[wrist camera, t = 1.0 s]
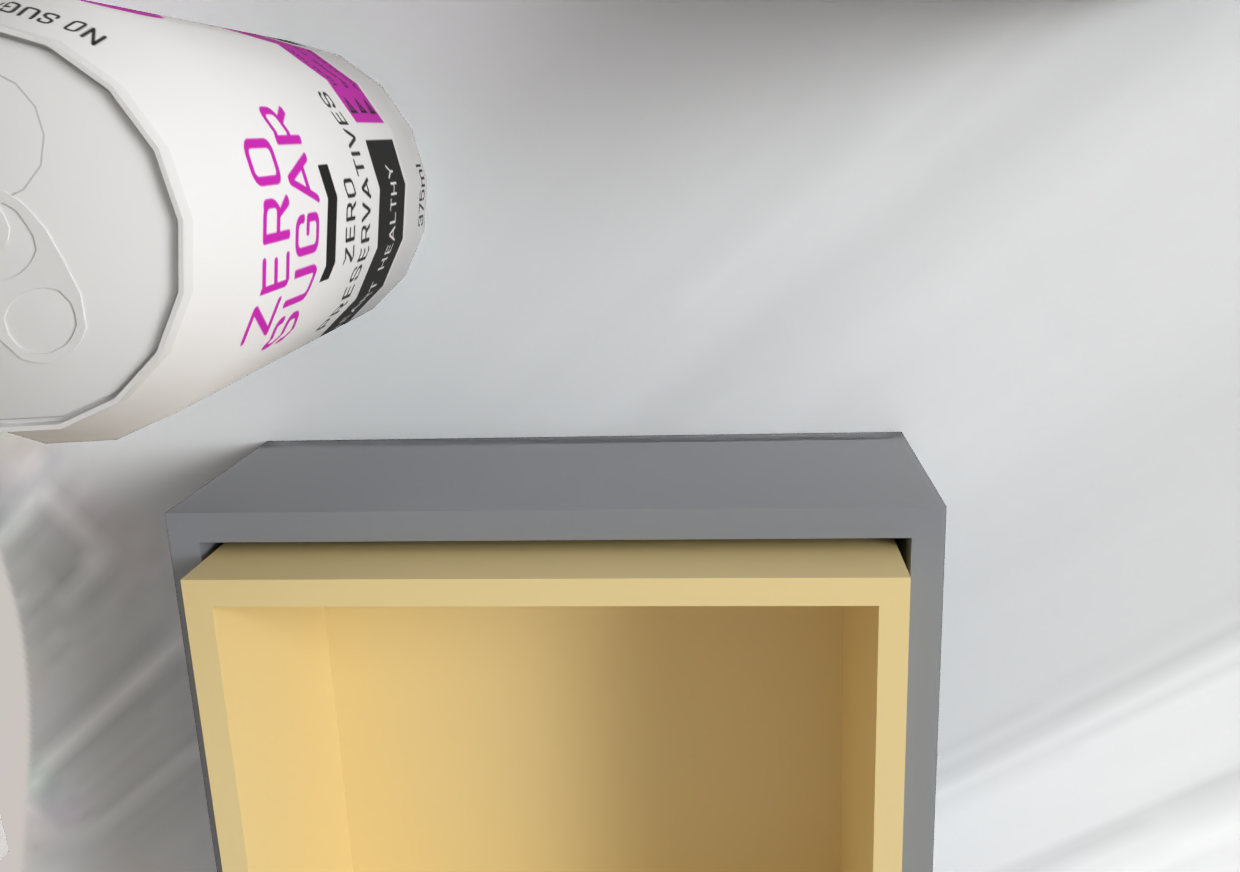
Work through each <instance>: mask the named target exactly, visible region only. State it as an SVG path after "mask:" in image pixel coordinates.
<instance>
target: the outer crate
mask: <svg viewBox="0 0 1240 872" xmlns="http://www.w3.org/2000/svg"><path fill="white" fill-rule="evenodd" d="M165 518H166V525H167V531H168V538H169V545H170V552H171V559H172V566H173V572H174V579H175V586H176V593H177V600H178V607H179V613H180V620H181V627H182V634H183V641H184V648H185V654H186V661H187V668H188V675H189V682H190V689H191V695H192V702H193V709H194V716H195V723H196V730H197V736H198V743H199V750H200V757H201V764H202V771H203V777H204V784H205V791H206V798H207V805H208V812H209V818H210V825H211V832H212V839H213V846H214V853H215V859H216V866H217V872H223V871H222V864H221V857H220V850H219V843H218V836H217V829H216V823H215V816H214V809H213V802H212V795H211V788H210V781H209V774H208V767H207V760H206V754H205V747H204V740H203V733H202V726H201V719H200V712H199V705H198V698H197V691H196V685H195V678H194V671H193V664H192V657H191V650H190V643H189V636H188V629H187V622H186V616H185V609H184V602H183V595H182V588H181V581H180V580H181V579H182V578H183V577H185V576H186V575H187V574H188V573H189V572H190V571H192V570H193V569H194V568H195V567H196V566H198V565H199V564H200V563H201V562H202V561H203V560H205V559H206V558H207V557H208V556H209V555H211V554H212V553H213V552H214V551H215V550H217V549H218V548H219V547H220V546H221V545H222V544H224V543H225V542H368V541H524V540H680V539H836V538H894V540H895V542H896V544H897V547H898V549H899V551H900V554H901V556H902V558H903V561H904V563H905V565H906V568H907V570H908V572H909V575H910V577H911V587H910V620H909V653H908V686H907V719H906V752H905V785H904V818H903V851H902V872H933V846H934V820H935V793H936V767H937V741H938V715H939V689H940V663H941V636H942V610H943V584H944V558H945V532H946V505H945V503H944V502H943V500H942V498H941V497H940V495H939V493H938V492H937V490H936V488H935V487H934V485H933V483H932V482H931V480H930V478H929V477H928V475H927V473H926V472H925V470H924V468H923V467H922V465H921V463H920V462H919V460H918V458H917V457H916V455H915V453H914V452H913V450H912V448H911V447H910V445H909V443H908V442H907V440H906V438H905V437H904V435H903V434H902V432H873V433H804V434H735V435H666V436H596V437H527V438H458V439H389V440H319V441H268V442H266V443H265V444H263V445H262V446H260V447H259V448H258V449H256V450H255V451H253V452H252V453H250V454H249V455H248V456H246V457H245V458H243V459H242V460H240V461H239V462H238V463H236V464H235V465H233V466H232V467H230V468H229V469H228V470H226V471H225V472H223V473H222V474H220V475H219V476H218V477H216V478H215V479H213V480H212V481H210V482H209V483H208V484H206V485H205V486H203V487H202V488H200V489H199V490H198V491H196V492H195V493H193V494H192V495H190V496H189V497H188V498H186V499H185V500H183V501H182V502H180V503H179V504H178V505H176V506H175V507H173V508H172V509H170V510H169V511H168V512H166V513H165Z"/></svg>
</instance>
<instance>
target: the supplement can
mask: <svg viewBox="0 0 1240 872" xmlns="http://www.w3.org/2000/svg"><path fill="white" fill-rule="evenodd" d="M426 190H427V179H426V175H425V172H424V168H423V165H422V161H421V158H420V154H419V151H418V147H417V144H416V140H415V137H414V133H413V130H412V129H411V127H410V126H409V124H408V123H407V122H406V120H405V119H404V117H403V116H402V114H401V113H400V111H399V110H398V109H397V107H396V106H395V104H394V103H393V101H392V100H391V98H390V97H389V96H388V94H387V93H386V91H385V90H384V88H383V87H382V86H381V85H379V84H378V83H377V82H375V81H374V80H372V79H371V78H370V77H368V76H367V75H366V74H364V73H363V72H362V71H360V70H359V69H357V68H356V67H355V66H353V65H352V64H351V63H349V62H348V61H347V60H345V59H344V58H342V57H341V56H339V55H336V54H332V53H329V52H325V51H322V50H319V49H315V48H312V47H308V46H305V45H301V44H298V43H295V42H291V41H286V40H281V39H276V38H271V37H266V36H261V35H256V34H251V33H246V32H241V31H236V30H231V29H226V28H221V27H216V26H211V25H206V24H201V23H196V22H191V21H186V20H181V19H176V18H171V17H166V16H161V15H156V14H151V13H146V12H141V11H136V10H131V9H126V8H121V7H116V6H111V5H106V4H101V3H96V2H91V1H86V0H0V432H8V433H12V434H15V435H19V436H22V437H25V438H29V439H32V440H36V441H39V442H42V443H65V442H83V441H101V440H117V439H119V438H121V437H123V436H126V435H128V434H130V433H132V432H134V431H137V430H139V429H141V428H143V427H145V426H148V425H150V424H152V423H154V422H156V421H159V420H161V419H163V418H165V417H167V416H170V415H172V414H174V413H176V412H178V411H180V410H182V409H184V408H186V407H188V406H190V405H192V404H194V403H195V402H197V401H199V400H201V399H203V398H205V397H207V396H209V395H211V394H213V393H214V392H216V391H218V390H220V389H222V388H224V387H226V386H228V385H230V384H231V383H233V382H235V381H237V380H239V379H241V378H243V377H245V376H247V375H249V374H250V373H252V372H254V371H256V370H258V369H260V368H262V367H264V366H266V365H267V364H269V363H271V362H273V361H275V360H277V359H279V358H281V357H283V356H284V355H286V354H288V353H290V352H292V351H294V350H296V349H298V348H300V347H302V346H303V345H305V344H307V343H309V342H311V341H313V340H315V339H317V338H319V337H320V336H322V335H324V334H326V333H328V332H330V331H332V330H334V329H336V328H338V327H339V326H341V325H343V324H345V323H347V322H349V321H351V320H353V319H355V318H356V317H358V316H360V315H362V314H364V313H366V312H368V311H370V310H372V309H373V308H374V307H375V306H376V305H377V304H378V303H379V302H380V301H381V300H382V299H383V298H384V297H385V296H386V295H387V294H388V293H389V292H390V291H391V290H392V289H393V288H394V287H395V286H396V284H397V283H398V282H399V281H400V280H401V279H402V278H403V277H404V276H405V275H406V273H407V270H408V268H409V266H410V263H411V261H412V259H413V256H414V254H415V252H416V249H417V247H418V245H419V242H420V240H421V237H422V235H423V233H424V228H425V209H426Z"/></svg>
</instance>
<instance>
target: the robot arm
mask: <svg viewBox="0 0 1240 872" xmlns="http://www.w3.org/2000/svg"><path fill="white" fill-rule="evenodd" d="M8 852H9V847H8V843H7V839H6V835H5V831H4V828H3V823H2V820H1V816H0V860H1V859H2V858H3V857H4V856H5V855H6V854H7V853H8Z"/></svg>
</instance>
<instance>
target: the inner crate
mask: <svg viewBox="0 0 1240 872" xmlns="http://www.w3.org/2000/svg"><path fill="white" fill-rule="evenodd" d="M180 581H181V588H182V595H183V602H184V609H185V616H186V622H187V629H188V636H189V643H190V650H191V657H192V664H193V671H194V678H195V685H196V691H197V698H198V705H199V712H200V719H201V726H202V733H203V740H204V747H205V754H206V760H207V767H208V774H209V781H210V788H211V795H212V802H213V809H214V816H215V823H216V829H217V836H218V843H219V850H220V857H221V864H222V871H223V872H902V851H903V818H904V785H905V752H906V719H907V686H908V653H909V620H910V587H911V577H910V575H909V572H908V570H907V568H906V565H905V563H904V561H903V558H902V556H901V554H900V551H899V549H898V547H897V544H896V542H895V540H894V538H836V539H680V540H524V541H368V542H225V543H224V544H222V545H221V546H220V547H219V548H218V549H217V550H215V551H214V552H213V553H212V554H211V555H209V556H208V557H207V558H206V559H205V560H203V561H202V562H201V563H200V564H199V565H198V566H196V567H195V568H194V569H193V570H192V571H190V572H189V573H188V574H187V575H186V576H185V577H183V578H182V579H181V580H180Z"/></svg>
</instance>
